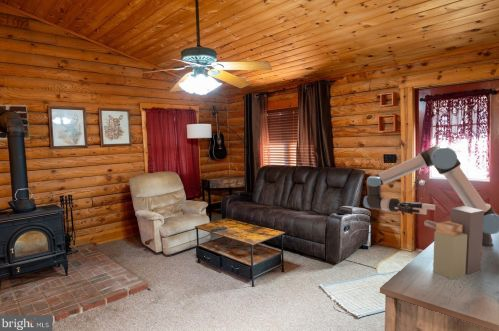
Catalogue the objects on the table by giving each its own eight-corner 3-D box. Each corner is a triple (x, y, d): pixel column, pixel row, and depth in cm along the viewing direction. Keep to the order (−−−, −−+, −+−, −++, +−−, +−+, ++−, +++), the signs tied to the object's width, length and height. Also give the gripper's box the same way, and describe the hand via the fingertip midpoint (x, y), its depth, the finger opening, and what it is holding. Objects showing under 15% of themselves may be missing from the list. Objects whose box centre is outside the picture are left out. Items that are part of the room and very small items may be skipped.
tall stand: (461, 263, 162) (464, 205, 158) (480, 271, 153) (484, 210, 149) (448, 266, 159) (451, 208, 155) (467, 275, 150) (470, 212, 146)
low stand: (446, 267, 158) (448, 228, 156) (465, 275, 150) (467, 234, 147) (433, 270, 155) (434, 231, 153) (451, 279, 146) (453, 237, 144)
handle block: (431, 223, 164) (432, 216, 163) (462, 233, 149) (462, 225, 148) (420, 226, 161) (420, 218, 160) (449, 235, 146) (450, 227, 146)
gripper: (399, 207, 194) (438, 212, 179) (381, 215, 177) (422, 221, 162) (399, 195, 194) (438, 199, 178) (381, 201, 177) (422, 206, 161)
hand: (431, 209), depth 170 cm, fingers open, 13 cm apart
